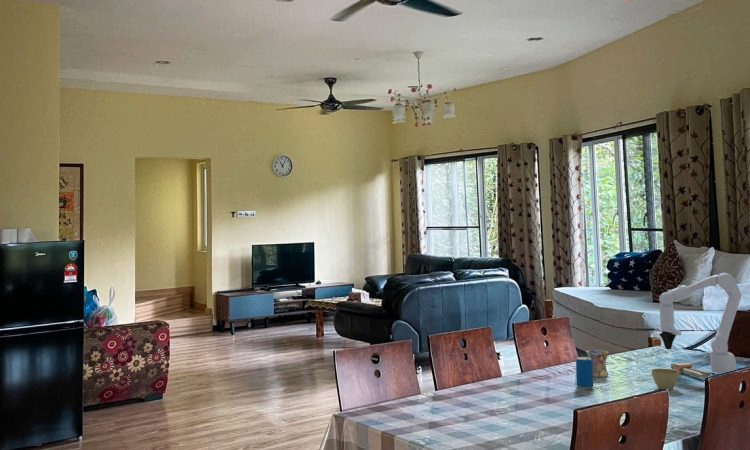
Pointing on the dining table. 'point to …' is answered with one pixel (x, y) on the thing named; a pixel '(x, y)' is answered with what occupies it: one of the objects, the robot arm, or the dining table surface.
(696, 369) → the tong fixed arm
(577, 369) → the beverage can
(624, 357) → the dining table surface
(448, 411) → the dining table surface
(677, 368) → the sleeve
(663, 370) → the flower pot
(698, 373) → the tong jaw
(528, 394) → the dining table surface
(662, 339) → the robot arm
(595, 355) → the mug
